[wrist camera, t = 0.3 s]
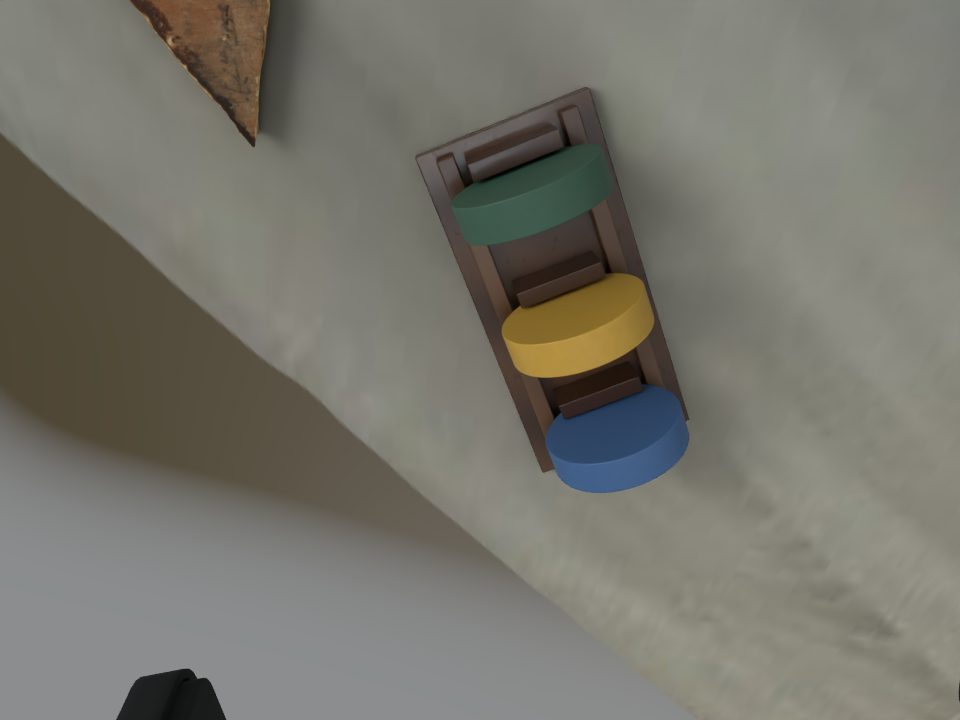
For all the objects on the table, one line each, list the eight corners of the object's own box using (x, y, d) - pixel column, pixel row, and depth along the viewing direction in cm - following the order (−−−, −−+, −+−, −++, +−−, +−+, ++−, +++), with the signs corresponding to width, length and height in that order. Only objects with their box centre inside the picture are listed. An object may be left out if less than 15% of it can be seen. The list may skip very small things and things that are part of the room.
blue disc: (536, 414, 47) (557, 482, 40) (657, 369, 47) (701, 429, 39) (546, 440, 48) (568, 511, 41) (665, 396, 48) (710, 460, 40)
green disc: (447, 190, 42) (453, 221, 34) (584, 135, 41) (619, 155, 34) (460, 223, 42) (469, 261, 35) (595, 170, 42) (632, 197, 34)
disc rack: (415, 155, 42) (414, 164, 39) (586, 86, 41) (599, 90, 38) (541, 466, 50) (548, 493, 47) (685, 414, 49) (702, 437, 46)
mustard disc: (494, 309, 45) (509, 361, 37) (623, 260, 44) (664, 303, 37) (506, 338, 45) (522, 395, 38) (632, 290, 45) (674, 339, 37)
